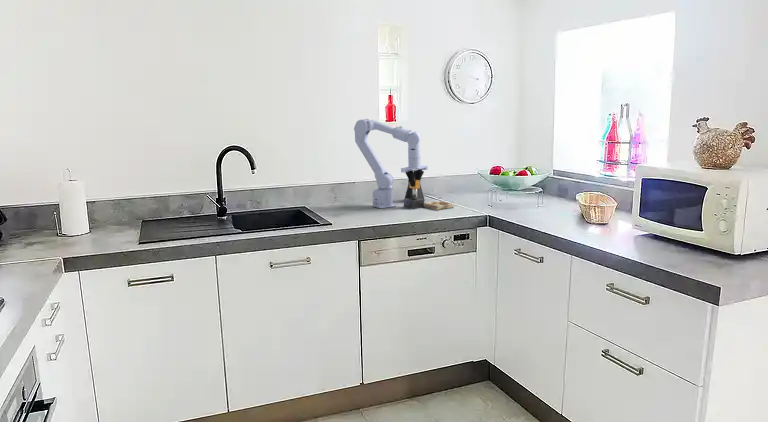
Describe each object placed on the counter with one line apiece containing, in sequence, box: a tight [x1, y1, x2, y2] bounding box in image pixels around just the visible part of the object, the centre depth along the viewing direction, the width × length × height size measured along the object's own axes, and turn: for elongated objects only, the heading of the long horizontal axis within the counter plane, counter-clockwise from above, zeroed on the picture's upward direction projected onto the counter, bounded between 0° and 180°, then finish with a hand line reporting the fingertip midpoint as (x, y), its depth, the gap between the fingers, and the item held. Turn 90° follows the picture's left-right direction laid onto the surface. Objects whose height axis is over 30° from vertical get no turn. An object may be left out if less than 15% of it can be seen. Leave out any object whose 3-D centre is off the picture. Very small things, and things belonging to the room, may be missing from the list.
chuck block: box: [403, 198, 425, 210], centre depth 278 cm, size 7×7×4 cm
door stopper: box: [403, 179, 426, 202], centre depth 294 cm, size 9×6×12 cm, turn 44°
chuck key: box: [409, 179, 421, 198], centre depth 277 cm, size 5×2×8 cm, turn 34°
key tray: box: [424, 200, 455, 211], centre depth 277 cm, size 10×10×2 cm
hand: (414, 186), depth 276 cm, fingers closed on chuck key, 2 cm apart
